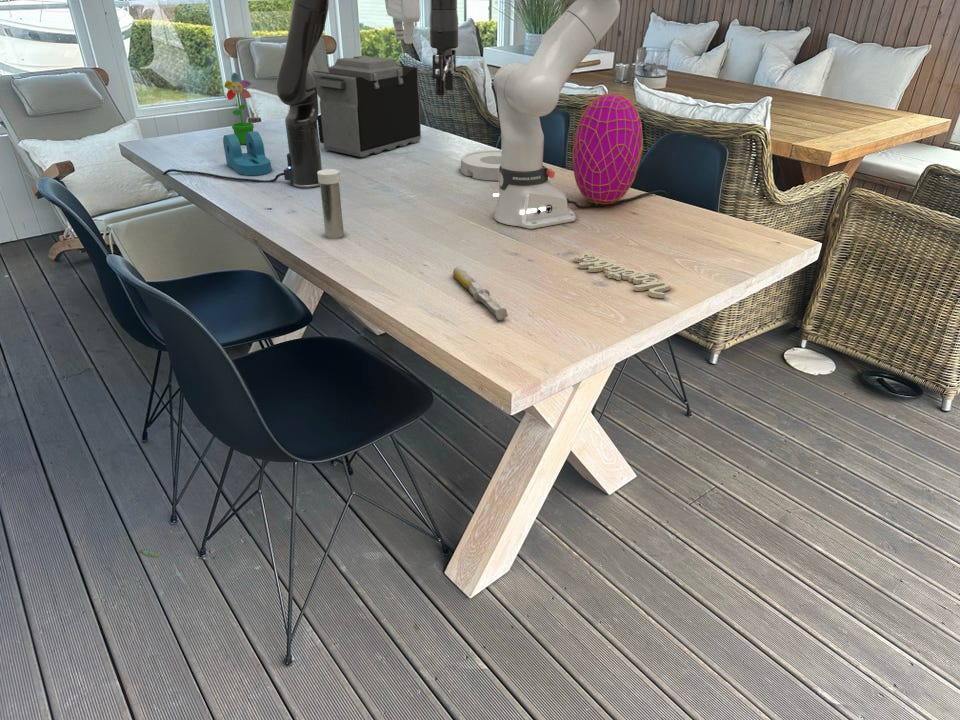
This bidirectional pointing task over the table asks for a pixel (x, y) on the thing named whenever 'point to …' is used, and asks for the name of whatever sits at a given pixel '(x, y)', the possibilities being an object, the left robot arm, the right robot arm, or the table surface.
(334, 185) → the cylinder
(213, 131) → the table surface
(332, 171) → the lid
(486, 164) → the ashtray
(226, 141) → the camera mount
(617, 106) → the decorative egg
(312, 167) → the left robot arm
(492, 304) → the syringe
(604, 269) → the decorative sign
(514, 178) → the right robot arm
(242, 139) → the potted flower
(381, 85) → the electronic device
